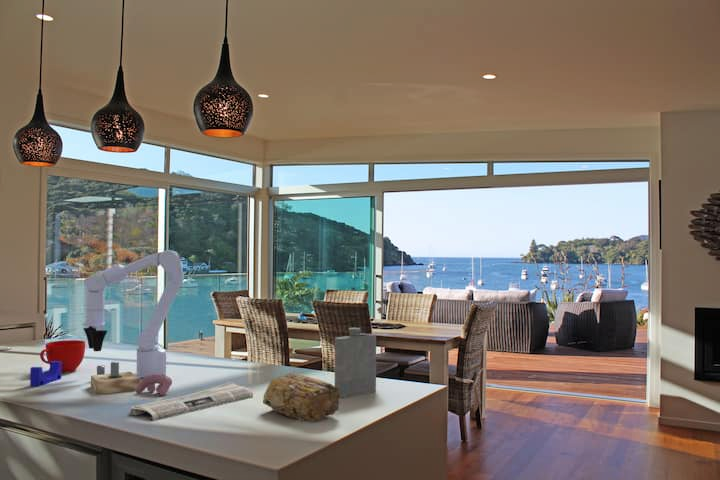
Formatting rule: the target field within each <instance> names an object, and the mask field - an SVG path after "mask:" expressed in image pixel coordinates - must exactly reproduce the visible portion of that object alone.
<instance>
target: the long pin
mask: <svg viewBox="0 0 720 480" xmlns="http://www.w3.org/2000/svg"><path fill="white" fill-rule="evenodd" d="M119 373H120V362H119V361H112V362H111V361H110V374H111V378H119Z"/></svg>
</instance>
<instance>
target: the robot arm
mask: <svg viewBox="0 0 720 480" xmlns="http://www.w3.org/2000/svg"><path fill="white" fill-rule="evenodd" d="M150 266H153V267H159V266H161V267H162V269H163V270H165V272H166V275H167V278H168V281H167V283H166V286H165V288H164V290H163V291H162V294H161V296H160V298H159V300H158V302H157V304H156V306H155V308H154V310H153V312H152V314H151V316H150V319H149V321H148V322H147V324H146V327H145V328H144V329H143V330H142V331H141V332H140V334H139V335H138V336H137V338H136V344H137V348H136V372H132V373H133V374H134V375H136V376H138V377H139V378H140V379H141V378H142V379H143V378H144V377H145V376H146V375H147V374H149V375H150V374H154V373H158V374H164V375H166V376H168V374H167V354H166V350H165V348H160V347H159V346H158V345H157V344H158V341H159V333H160V331H161V329H162V326H163V323H164V321H166V320H165V319H166V317H167V315H168V313H169V311H170V309H171V307H172V305H173V303H174V301H175V298H176V296H177V294H178V292H179V291H180V288H181V286H182V284H183V281H184V279H185V275H184V270H183V263H182V260H181V258H180V256H179V254H178V253H177V252H176V251H175V250H171V249H166V250H163V251H162V252H156V253H152V254H149V255H146V256H144V257H142V258H140V259H137V260H135V261H133V262H131V263H129V264H125V265H122V264H119V263H118V264H116V263H114V264H111V267H109V268H105V269H103V270H98V271H97V273H98V274H97V273H96V274H95V273H92V274H91V275H89V276H88V277H87V278H86V280H85V288H86V298H85V299H86V300H85V302H86V304H85V305H86V308H85V309H86V315H85V316H86V318H85V319H86V321H85V322H82V323H81V324H82V326H88V327H83V331H84V333H85V335H86V339H87V345H88V348H89V349H92V350H93V352H101V351H102V347H103V343H104V340H105V337H106V335H107V334H108V330H107V329H106V330H105V329H104V326H105V325H106V322H105V313H106V312H105V311H106V309H105V304H106V303H105V300H106V298H105V288H106V287H111V286H113V285H115V284H118V283H120V282H123V281H125V280H127V278H128V275H129V274H132V273H134V272H137V271H140V270H142V269H145V268H147V267H150Z"/></svg>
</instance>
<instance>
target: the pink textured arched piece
mask: <svg viewBox="0 0 720 480" xmlns="http://www.w3.org/2000/svg"><path fill="white" fill-rule="evenodd" d="M156 384H158V385H157V386H156ZM172 384H173V379H172V378H170V377H169V376H168V375H164V374H158V373H154V374H150V375H149V374H147V375H146V376H145V377H143V378H142V379H141V380H140V384H139V385H138V386H137V389H136V390H135V392H136V394H138V395H139V394H141V393H143V392H144V391H145V390H146V389H147V392H149V393H154V392H155V391H156V393H158V394H159V395H160V396H161V397H163V396H165V395H166V394H167V393H168V391H169V389H170V387H171V386H172Z"/></svg>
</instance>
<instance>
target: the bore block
mask: <svg viewBox="0 0 720 480" xmlns="http://www.w3.org/2000/svg"><path fill="white" fill-rule="evenodd" d="M133 373H134V372H131V371H125V372H119V378H111V373H105V374H103V375H97V374H95V375H91V376H90V388H91V389H93V390H94V391H95V392H96V393H97V394H98V395H104V394H113V393H118V392H128V391H129V392H130V391H136V389H137V386H138V385H139V384H140V382H141V378H139V377H138V376H136V375H134V374H133Z"/></svg>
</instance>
